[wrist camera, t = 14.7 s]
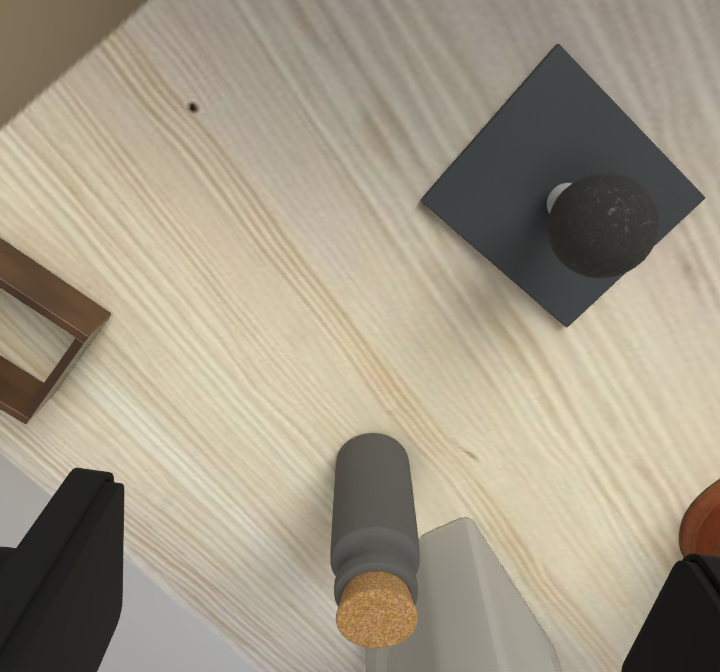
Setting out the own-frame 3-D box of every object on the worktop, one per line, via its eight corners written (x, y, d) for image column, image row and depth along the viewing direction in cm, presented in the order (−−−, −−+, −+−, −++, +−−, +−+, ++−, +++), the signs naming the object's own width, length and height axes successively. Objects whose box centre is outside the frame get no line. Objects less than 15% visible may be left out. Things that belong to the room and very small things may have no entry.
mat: (420, 199, 40) (421, 201, 39) (556, 44, 36) (559, 43, 35) (564, 325, 43) (567, 328, 43) (702, 196, 40) (706, 197, 39)
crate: (-58, 327, 43) (-96, 351, 40) (-3, 235, 41) (-39, 252, 37) (52, 395, 46) (25, 424, 42) (111, 313, 43) (88, 336, 39)
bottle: (323, 476, 49) (309, 636, 35) (356, 421, 47) (354, 569, 33) (387, 502, 50) (397, 668, 36) (422, 449, 48) (446, 604, 34)
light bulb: (503, 185, 39) (547, 223, 30) (584, 136, 38) (656, 160, 28) (540, 256, 41) (593, 312, 32) (619, 212, 40) (696, 257, 30)
